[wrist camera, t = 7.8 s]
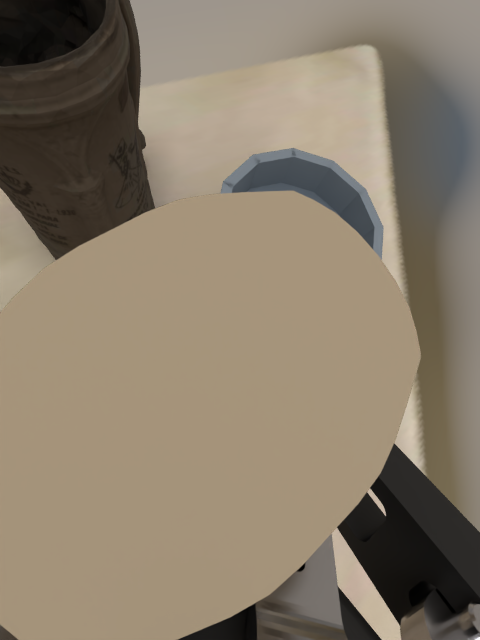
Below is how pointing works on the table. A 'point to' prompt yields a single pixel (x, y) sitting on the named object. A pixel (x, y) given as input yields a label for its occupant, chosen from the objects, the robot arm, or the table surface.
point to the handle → (191, 413)
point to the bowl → (311, 187)
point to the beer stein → (71, 118)
